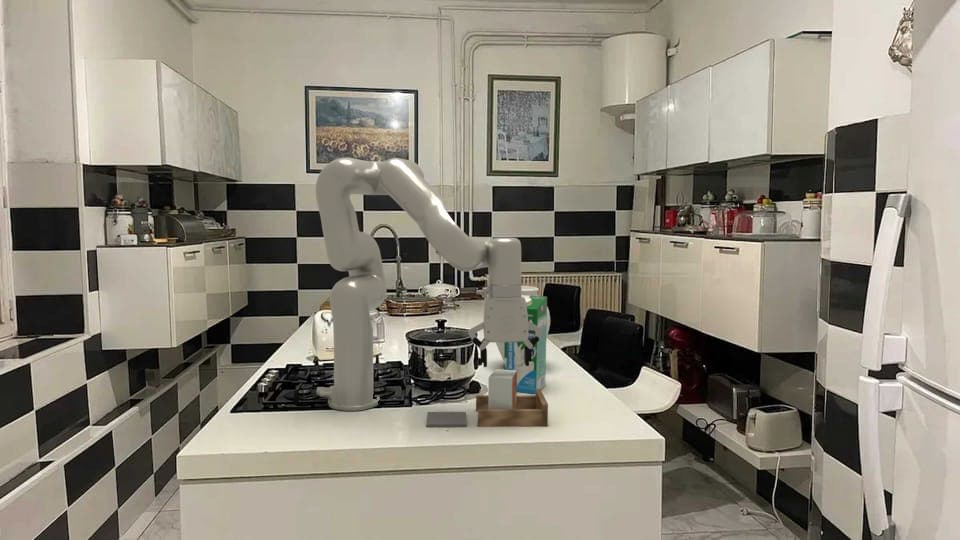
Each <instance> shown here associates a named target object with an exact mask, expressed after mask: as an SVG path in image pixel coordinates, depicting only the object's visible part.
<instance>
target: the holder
mask: <svg viewBox="0 0 960 540" xmlns="http://www.w3.org/2000/svg"><path fill="white" fill-rule="evenodd" d="M548 409H549V403H548V401H547V399H546V397H545V395H544V394H543V391H542V389H536V390H535V394H521V395H520V394H517V402H516V409H488V394H483V395H482V394H477V395H475V411H476V412H477V427H548V426H549V425H548V421H549V417H548V416H549V410H548Z"/></svg>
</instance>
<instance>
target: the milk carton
mask: <svg viewBox="0 0 960 540" xmlns="http://www.w3.org/2000/svg"><path fill="white" fill-rule="evenodd" d="M521 296H522V297H524V298H525V300H526V306H527V315H528V322H530V323H532V324H534V325H536V326H538V327H540V328H542V329H543V333H542V335H541V337H540V339H539V341H538V342H537V343H536V344H535V345H534V346H533V348H532V349H531V352H532V361H531V362H529V366H526V365H525V363H524V347H525V344H524V342H504V360H503V370H516V371H517V393H524V394H530V395H535V390H536V389H541V390H542V389H543V388H544V387H546V374H547V373H546V370H547V369H546V367H547V361H546V360H547V340H546V327H547V307H548V296H541V295H538V296H529V295H521ZM535 333H536V331H534V330H532V329H530V328H528V340H529V341H530V340H531V339H532V338H533V337H534V335H535Z"/></svg>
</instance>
